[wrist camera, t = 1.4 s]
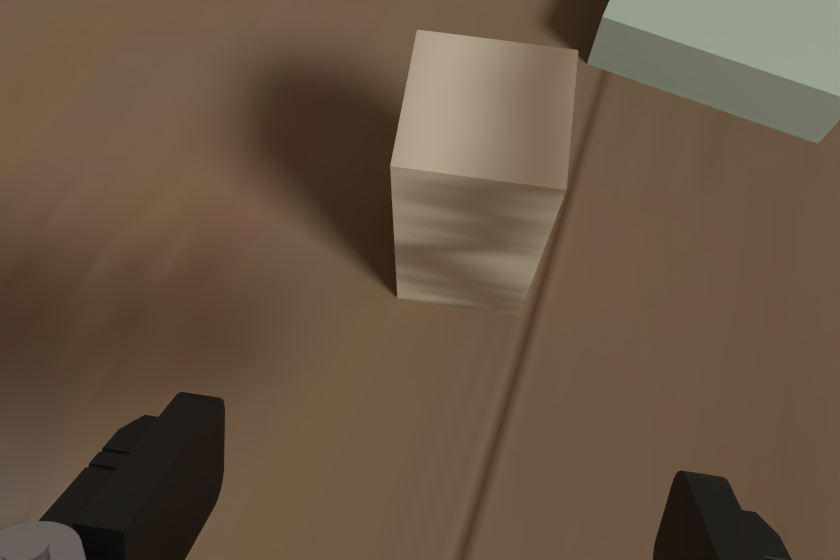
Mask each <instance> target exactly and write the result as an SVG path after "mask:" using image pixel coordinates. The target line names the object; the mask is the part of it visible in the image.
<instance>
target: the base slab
mask: <svg viewBox="0 0 840 560" xmlns="http://www.w3.org/2000/svg"><path fill="white" fill-rule="evenodd" d="M587 64H589V65H592V66H595V67H598V68H600V69H603V70H606V71H609V72H612V73H615V74H618V75H621V76H624V77H626V78H629V79H632V80H635V81H638V82H641V83H644V84H647V85H650V86H652V87H655V88H658V89H661V90H664V91H667V92H670V93H673V94H676V95H678V96H681V97H684V98H687V99H690V100H693V101H696V102H699V103H702V104H704V105H707V106H710V107H713V108H716V109H719V110H722V111H725V112H728V113H730V114H733V115H736V116H739V117H742V118H745V119H748V120H751V121H754V122H756V123H759V124H762V125H765V126H768V127H771V128H774V129H777V130H780V131H782V132H785V133H788V134H791V135H794V136H797V137H800V138H803V139H806V140H808V141H811V142H814V143H817V144H818V143H819V142H820V141H821V140H822V139H823V138H824V136H825V135H826V134H827V133H828V132H829V131H830V130H831V129H832V128H833V126H834V125H835V124H836V123H837V122H838V121H839V120H840V0H610V1H609V3H608V5H607V7H606V10H605V12H604V14H603V16H602V19H601V22H600V25H599V28H598V31H597V34H596V38H595V41H594V44H593V47H592V50H591V53H590V56H589V59H588V62H587Z"/></svg>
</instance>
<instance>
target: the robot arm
mask: <svg viewBox="0 0 840 560" xmlns="http://www.w3.org/2000/svg"><path fill="white" fill-rule="evenodd" d="M224 432H225V406H224V401H223V399H222V398H217V397H211V396H204V395H198V394H191V393H185V392H180V393H178V394H177V395H176V396H175V397H174V398H173V400H172V401H171V402H170V403H169V405H168V406H167V407H166V408H165V410H164V411H163V412H162V413H161V415H160V416H159V417H155V416H149V415H144V416H142V417H140V418H138V419H137V420H135V421H133V422H131V423H129V424H128V425H126V426H124V427H122V428H121V429H119V430H118V431H117V432H116V433H115V434H114V436H113V437H112V438H111V439H110V440H109V441H108V442H107V444H106V445H105V446H104V447H103V449H102V452H99V453H98V454H97V455H96V456H95V457H94V458H93V460H92V461H91V462H90V463H89V467H88V468H85V469H84V470H83V471H82V472H81V473H80V474H79V475H78V477H77V478H76V479H75V480H74V481H73V482H72V483H71V485H70V486H69V487H68V488H67V489H66V490H65V491H64V493H63V494H62V495H61V496H60V497H59V498H58V499H57V501H56V502H55V503H54V504H53V505H52V506H51V507H50V508H49V510H48V511H47V512H46V513H45V514H44V515H43V516H42V518H41V519H40V520H39V521H37V522H29V523H24V524H19V525H16V526H13V527H10V528H7V529H5V530H3V531H1V532H0V560H185V558H186V557H187V555H188V553H189V551H190V549H191V548H192V546H193V544H194V542H195V540H196V539H197V537H198V535H199V533H200V532H201V530H202V528H203V526H204V524H205V523H206V521H207V519H208V517H209V515H210V514H211V512H212V510H213V508H214V506H215V504H216V502H217V499H218V497H219V494H220V490H221V486H222V481H223V474H224ZM653 560H792V559H791V558H790V556H789V554H788V552H787V550H786V548H785V546H784V544H783V542H782V540H781V538H780V536H779V535H778V534H777V533H776V532H775V531H774V530H773V529H772V528H771V527H770V526H769V525H768V524H767V523H766V522H765V521H764V520H763V519H762V518H761V517H760V516H759V515H758V514H757V513H756V512H752V511H745V510H741V507H740V505H739V503H738V501H737V499H736V497H735V495H734V493H733V490H732V488H731V486H730V484H729V482H728V480H727V479H726V478H724V477H720V476H713V475H707V474H700V473H694V472H687V471H678V472H677V474H676V475H675V477H674V480H673V483H672V486H671V489H670V493H669V496H668V499H667V503H666V506H665V510H664V513H663V516H662V520H661V523H660V527H659V530H658V533H657V537H656V541H655V545H654V552H653Z"/></svg>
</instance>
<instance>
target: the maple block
mask: <svg viewBox="0 0 840 560" xmlns="http://www.w3.org/2000/svg"><path fill="white" fill-rule="evenodd" d="M577 60H578V50H574V49H566V48H558V47H550V46H542V45H534V44H526V43H518V42H510V41H503V40H495V39H487V38H479V37H471V36H463V35H455V34H447V33H439V32H431V31H423V30H417V34H416V39H415V44H414V49H413V54H412V59H411V64H410V69H409V74H408V79H407V84H406V89H405V94H404V99H403V104H402V109H401V114H400V119H399V124H398V129H397V134H396V139H395V144H394V149H393V154H392V159H391V164H390V172H391V190H392V209H393V227H394V245H395V263H396V281H397V298H401V299H408V300H415V301H422V302H429V303H435V304H442V305H449V306H456V307H463V308H470V309H476V310H483V311H490V312H497V313H504V314H511V315H518V316H519V315H520V312H521V310H522V307H523V304H524V302H525V299H526V296H527V294H528V291H529V288H530V286H531V283H532V280H533V278H534V275H535V272H536V270H537V267H538V264H539V262H540V259H541V256H542V254H543V251H544V248H545V246H546V243H547V240H548V238H549V235H550V232H551V230H552V227H553V224H554V222H555V219H556V216H557V214H558V211H559V208H560V206H561V203H562V200H563V198H564V195H565V192H566V188H567V177H568V165H569V153H570V142H571V130H572V118H573V107H574V95H575V83H576V72H577Z"/></svg>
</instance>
